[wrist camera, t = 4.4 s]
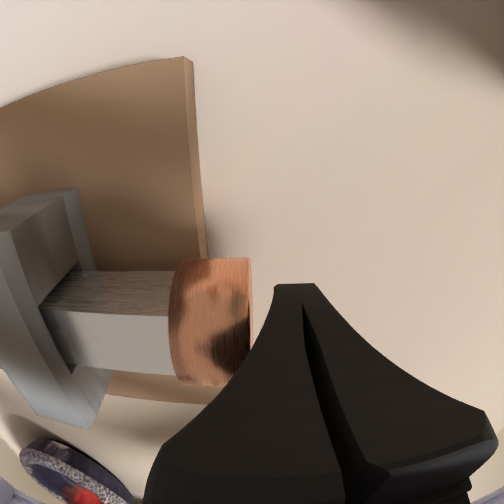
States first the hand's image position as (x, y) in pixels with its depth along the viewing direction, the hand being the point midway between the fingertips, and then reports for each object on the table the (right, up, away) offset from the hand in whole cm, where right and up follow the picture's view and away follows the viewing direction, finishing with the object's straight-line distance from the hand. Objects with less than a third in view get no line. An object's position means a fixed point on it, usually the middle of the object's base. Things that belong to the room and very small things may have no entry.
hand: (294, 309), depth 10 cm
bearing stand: (-12, +1, +3) cm, 13 cm away
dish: (-24, -29, +20) cm, 42 cm away
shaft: (-10, 0, +2) cm, 10 cm away
